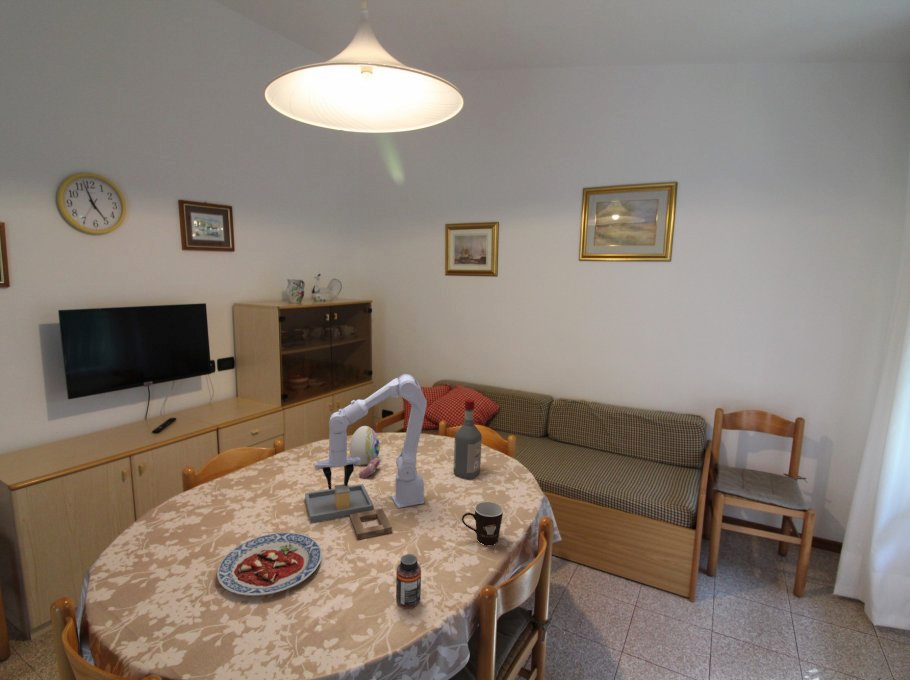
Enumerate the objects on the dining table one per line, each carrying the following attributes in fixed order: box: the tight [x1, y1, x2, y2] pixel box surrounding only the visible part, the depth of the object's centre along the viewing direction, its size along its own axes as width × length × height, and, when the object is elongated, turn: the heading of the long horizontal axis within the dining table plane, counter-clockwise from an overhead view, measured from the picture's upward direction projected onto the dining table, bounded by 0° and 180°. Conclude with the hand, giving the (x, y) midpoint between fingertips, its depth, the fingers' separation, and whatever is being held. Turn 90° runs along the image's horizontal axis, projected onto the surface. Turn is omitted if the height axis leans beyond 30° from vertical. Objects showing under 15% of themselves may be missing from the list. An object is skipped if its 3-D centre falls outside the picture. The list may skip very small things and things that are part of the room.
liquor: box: [453, 398, 482, 480], centre depth 179 cm, size 9×9×30 cm
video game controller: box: [358, 457, 382, 479], centre depth 179 cm, size 10×5×7 cm, turn 169°
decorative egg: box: [348, 425, 381, 466], centre depth 189 cm, size 12×12×15 cm
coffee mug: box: [461, 500, 504, 546], centre depth 138 cm, size 12×9×10 cm
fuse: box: [334, 483, 350, 510], centre depth 153 cm, size 4×5×6 cm
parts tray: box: [304, 483, 375, 524], centre depth 155 cm, size 20×16×2 cm
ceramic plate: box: [216, 532, 323, 597], centre depth 122 cm, size 26×26×3 cm
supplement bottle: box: [395, 553, 422, 609], centre depth 111 cm, size 6×6×11 cm
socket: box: [349, 508, 393, 541], centre depth 143 cm, size 11×12×2 cm
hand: (337, 487), depth 154 cm, fingers open, 5 cm apart
